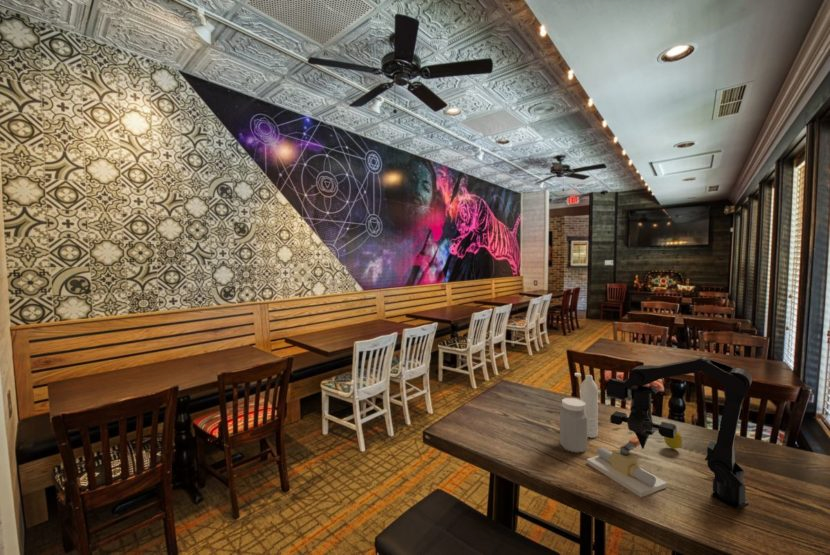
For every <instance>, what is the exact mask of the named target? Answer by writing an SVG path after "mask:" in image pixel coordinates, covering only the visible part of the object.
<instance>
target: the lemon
mask: <svg viewBox="0 0 830 555" xmlns="http://www.w3.org/2000/svg"><path fill="white" fill-rule="evenodd" d="M663 440H664V442H665V445H666V446H668V447H669V448H671V450H675V449H678V448H681V447H682V444H683V437H682V435H681V433H680V432H679V431H678V430H677V433H676V435H675V437H674V438H668V437H664V436H663Z"/></svg>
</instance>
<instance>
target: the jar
mask: <svg viewBox="0 0 830 555" xmlns="http://www.w3.org/2000/svg"><path fill="white" fill-rule="evenodd" d="M559 412H560V413H559V443H560V445H561V447H562V448H563V449H564V450H566V451H568V452H570V451H571V452H570V453H574V452H575V454H576V453H577V452H578V453H577V454H580V453H579V452H581V453H584V452H585V451H586V450H587V449H588V437H587V414H586V413H585V402H583V401H582V400H581V399H579V398H575V397H565V398H562V400H561V410H560V411H559Z"/></svg>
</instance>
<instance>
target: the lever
mask: <svg viewBox="0 0 830 555" xmlns="http://www.w3.org/2000/svg"><path fill="white" fill-rule="evenodd" d="M639 446H641V445H640V442H639V440H638V438H637V436H634V437H632V438H631V439H629V440H628V442H627V443H626V444H624V445H622V446H620V447H619V449H620V453H621V454H622V455H625V456H628V455H629V453H631V452H630V451H633V450H634V449H635V448H637V447H639Z"/></svg>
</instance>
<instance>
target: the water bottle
mask: <svg viewBox="0 0 830 555" xmlns="http://www.w3.org/2000/svg"><path fill="white" fill-rule="evenodd" d="M574 376H575V377H578V378H580V377H582V374H581V373H580V372H574ZM593 378H594V377H593V375H592V374H586V375H585V379H584V380H582V382H581V383H580V386H579V387H580V400H582V401H583V402H585V413H586V414H587V438H589V437H590V439H591V438H594V439H595V438H597V437H598V435H599V431H598V430H599V429H598V428H599V425H598V423H599V422H598V421H599V416H598V415H599V412H598V411H599V406H598V405H599V404H598V403H599V402H598V401H599V393H598V392H599V387H598V385H597V383H596V382H595V381H594V379H593Z"/></svg>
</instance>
